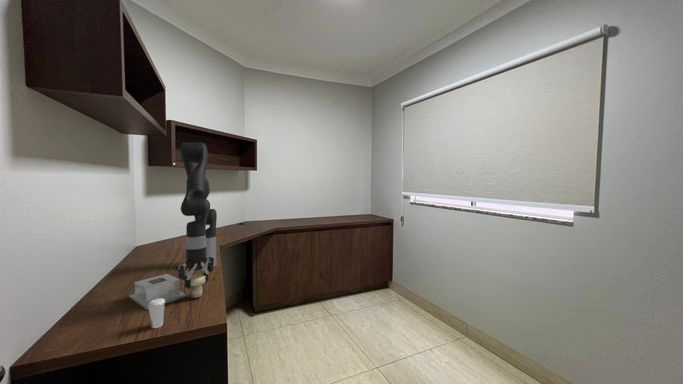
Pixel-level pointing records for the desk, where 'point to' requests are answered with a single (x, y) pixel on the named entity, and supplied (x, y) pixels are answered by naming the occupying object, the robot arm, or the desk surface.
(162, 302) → the milkshake
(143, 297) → the block
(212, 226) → the robot arm
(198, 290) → the beech pin
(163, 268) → the desk surface
